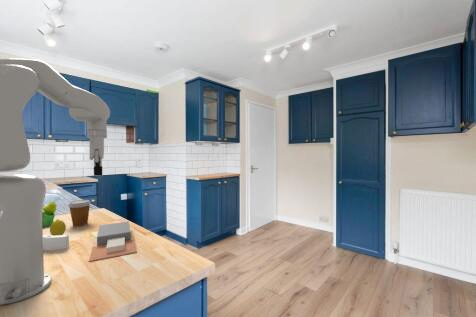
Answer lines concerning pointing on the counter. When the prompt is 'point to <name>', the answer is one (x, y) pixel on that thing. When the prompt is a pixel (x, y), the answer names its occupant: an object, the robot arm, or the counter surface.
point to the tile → (115, 244)
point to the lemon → (57, 228)
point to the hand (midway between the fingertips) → (98, 175)
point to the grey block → (113, 232)
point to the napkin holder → (55, 242)
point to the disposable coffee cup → (79, 212)
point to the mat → (100, 252)
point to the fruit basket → (48, 214)
